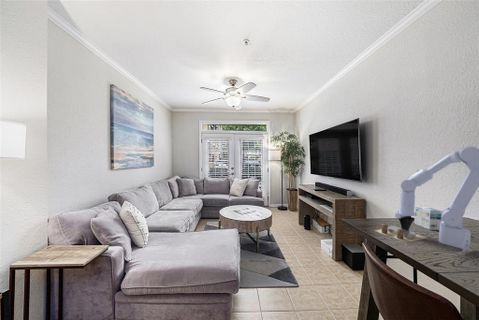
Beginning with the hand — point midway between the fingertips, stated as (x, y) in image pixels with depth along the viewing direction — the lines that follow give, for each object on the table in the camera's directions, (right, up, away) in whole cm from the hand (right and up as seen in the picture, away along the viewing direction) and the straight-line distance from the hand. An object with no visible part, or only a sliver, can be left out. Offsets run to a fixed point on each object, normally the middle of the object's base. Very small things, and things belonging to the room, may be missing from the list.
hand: (405, 231), depth 106 cm
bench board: (-4, -2, -2) cm, 5 cm away
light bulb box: (+24, -3, +15) cm, 29 cm away
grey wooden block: (-4, -1, -2) cm, 4 cm away
